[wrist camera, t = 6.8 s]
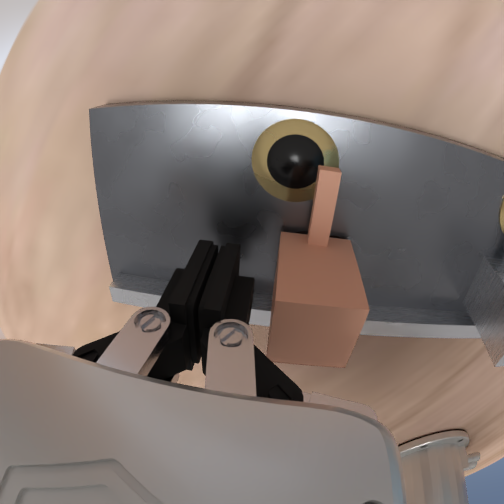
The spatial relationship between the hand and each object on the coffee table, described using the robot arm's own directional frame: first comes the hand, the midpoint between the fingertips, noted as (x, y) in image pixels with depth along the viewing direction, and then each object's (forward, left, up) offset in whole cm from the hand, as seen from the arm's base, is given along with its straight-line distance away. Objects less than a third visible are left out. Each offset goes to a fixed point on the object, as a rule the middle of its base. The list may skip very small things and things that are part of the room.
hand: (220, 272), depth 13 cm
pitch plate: (-6, -1, -3) cm, 6 cm away
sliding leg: (-4, -2, -1) cm, 4 cm away
